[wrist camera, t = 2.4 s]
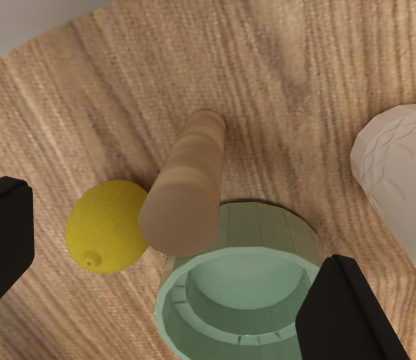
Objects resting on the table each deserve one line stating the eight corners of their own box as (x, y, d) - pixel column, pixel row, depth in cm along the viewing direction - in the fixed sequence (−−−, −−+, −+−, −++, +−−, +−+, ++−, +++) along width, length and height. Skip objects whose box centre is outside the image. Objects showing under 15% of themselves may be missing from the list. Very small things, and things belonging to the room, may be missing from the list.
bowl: (159, 300, 29) (143, 361, 24) (185, 181, 23) (171, 225, 18) (292, 330, 29) (305, 396, 24) (350, 220, 23) (385, 275, 18)
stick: (182, 142, 22) (133, 247, 11) (190, 104, 21) (143, 181, 10) (220, 151, 22) (208, 264, 11) (230, 114, 21) (226, 201, 10)
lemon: (83, 182, 24) (19, 246, 17) (139, 151, 22) (95, 206, 15) (125, 233, 26) (83, 310, 19) (179, 207, 24) (156, 280, 17)
